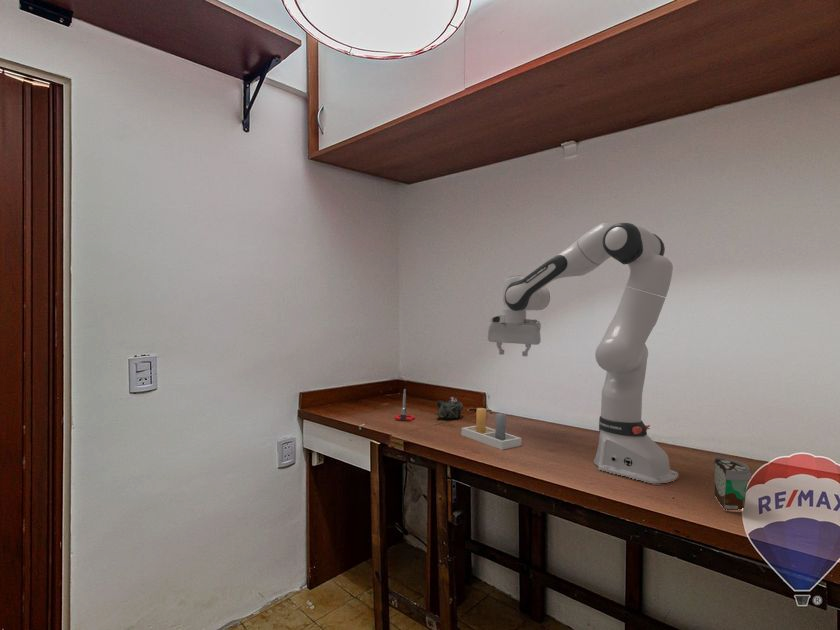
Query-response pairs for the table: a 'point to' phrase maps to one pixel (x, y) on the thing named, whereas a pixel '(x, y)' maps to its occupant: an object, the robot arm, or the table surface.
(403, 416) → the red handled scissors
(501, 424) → the grey rounded peg
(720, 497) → the food container
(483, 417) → the domed orange pawn
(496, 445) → the white divided tray
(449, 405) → the mineral specimen
